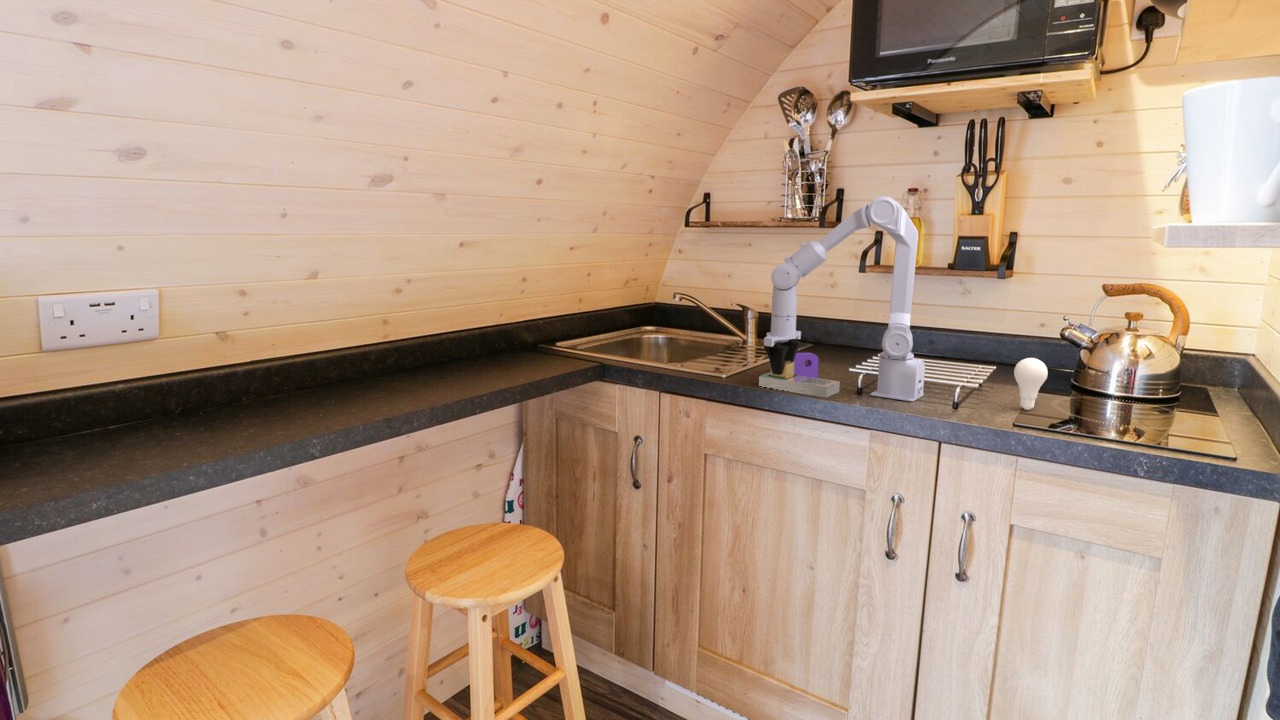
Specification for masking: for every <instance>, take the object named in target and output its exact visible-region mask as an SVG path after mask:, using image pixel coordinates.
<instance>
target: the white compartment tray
mask: <svg viewBox="0 0 1280 720" xmlns="http://www.w3.org/2000/svg"><path fill="white" fill-rule="evenodd" d="M840 382H841V381H838V380H832V379H824V378H819V377H818V378H813V377H806V376H799V375H798V374H794V377H792V378H790V379H784V378H777V377H771V371H770V372H766V373H763V374H761V375H760V376H759V377H758V387H759V386H762V387H761V388H763V387H767V388H766V389H769V388H773V389H772V390H776V389H778V390H777V391H782V390H784V392H788V391H789V393H794V394H795V393H796V394H801V395H808V396H814V397H819V398H826V399H827V398H829V397H830V396H833V395H836V394H838V393H839V392H840V384H841V383H840Z"/></svg>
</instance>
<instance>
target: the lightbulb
mask: <svg viewBox="0 0 1280 720" xmlns="http://www.w3.org/2000/svg"><path fill="white" fill-rule="evenodd" d="M1048 374H1049V371H1048V367H1047V366H1046V364H1045V363H1044V362H1043V361H1042V360H1040V359H1038V358H1035V357H1026V358H1024V359H1021V360H1020V361H1018V362H1017V363H1016V365H1015V367H1014V369H1013V375H1014V378H1015V381H1016V382H1017V385H1018V389H1019V397H1020V403H1019V404H1020V407H1021V408H1022V409H1023V410H1025V411H1030V410H1031V409H1033V408H1035V402H1036V399H1037V397H1038V393H1039V391H1040V388H1041V386H1043V384H1044V383H1045V381H1046V380H1047V379H1048Z"/></svg>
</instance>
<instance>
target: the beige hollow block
mask: <svg viewBox="0 0 1280 720" xmlns="http://www.w3.org/2000/svg"><path fill="white" fill-rule="evenodd" d="M794 363H795V362H792V361H788V360H784V364H783V371H782V374H781V375H777V374H772V370H771V369H770V372H771V377H777V378H784V379H790V378H792V377H794Z"/></svg>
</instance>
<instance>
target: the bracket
mask: <svg viewBox="0 0 1280 720" xmlns="http://www.w3.org/2000/svg"><path fill="white" fill-rule="evenodd" d="M806 361H807V364H806V365H805V363H806ZM794 362H795V363H794V374H798V375H799V376H806V377H813V378H819V362H820V360H819V357H818V355H817V354H815V353H813V352H797V353H796V355H795V358H794Z"/></svg>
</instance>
